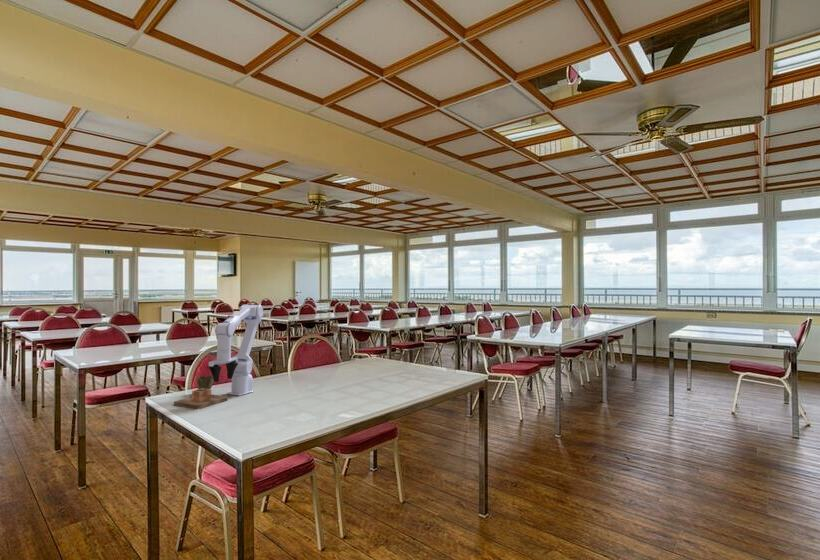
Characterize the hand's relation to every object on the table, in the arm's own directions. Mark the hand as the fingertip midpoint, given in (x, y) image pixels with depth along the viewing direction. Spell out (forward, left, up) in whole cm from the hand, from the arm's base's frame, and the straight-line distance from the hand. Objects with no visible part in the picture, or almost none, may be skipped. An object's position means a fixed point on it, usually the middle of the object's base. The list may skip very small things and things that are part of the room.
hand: (223, 380), depth 190 cm
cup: (-6, -18, -10) cm, 21 cm away
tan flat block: (+6, -6, -9) cm, 13 cm away
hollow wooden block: (+6, -6, -8) cm, 12 cm away
